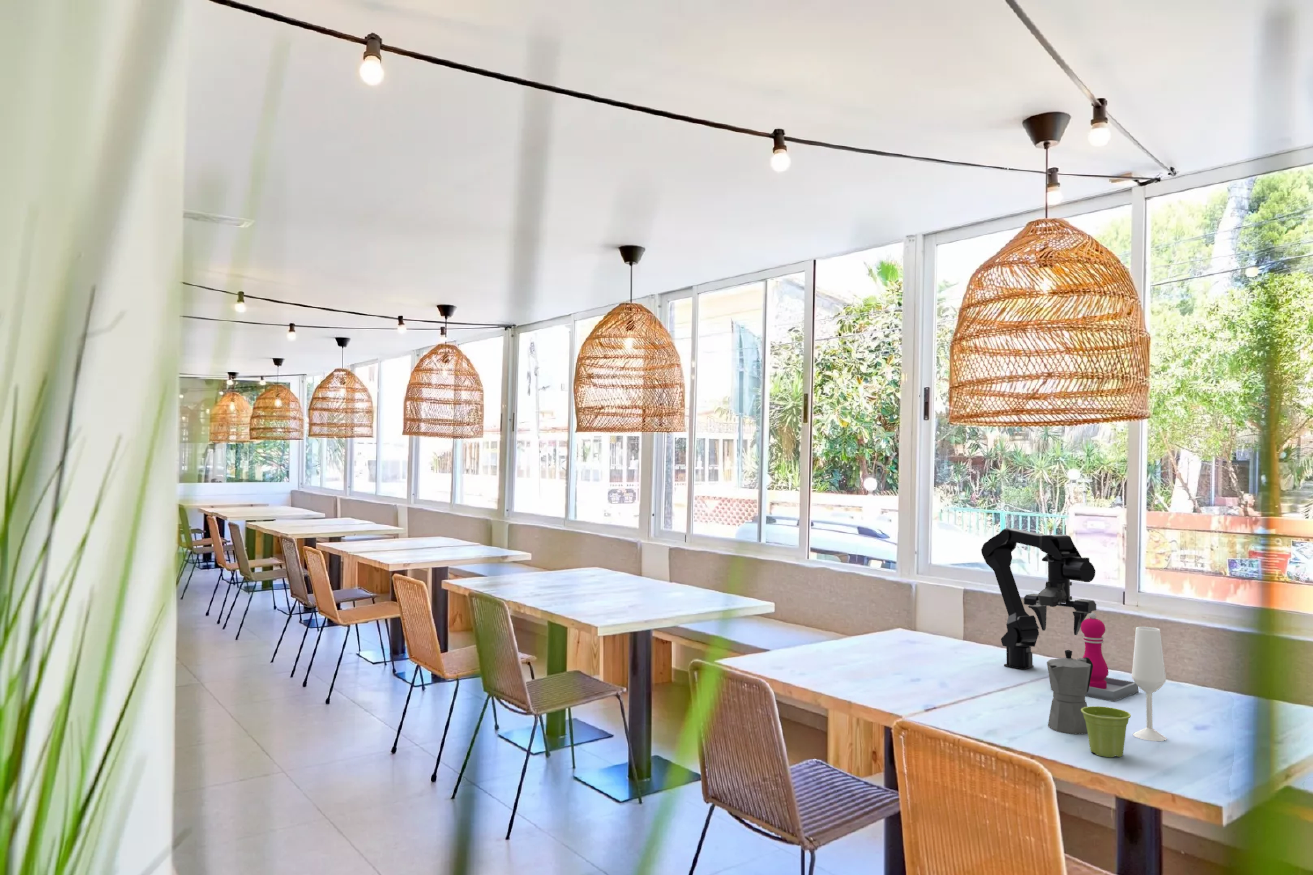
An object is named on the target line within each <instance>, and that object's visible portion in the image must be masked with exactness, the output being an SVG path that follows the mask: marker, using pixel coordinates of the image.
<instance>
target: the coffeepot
mask: <svg viewBox="0 0 1313 875" xmlns="http://www.w3.org/2000/svg"><path fill="white" fill-rule="evenodd" d="M1064 654H1065V657H1060V658H1059V657H1058V658H1051V659H1049V660H1048V661H1046V666H1047V673H1048V678H1049V684H1050V691H1051V692H1053V698H1052V699H1051V704H1050V710H1049V717H1048V722H1047V727H1048V728H1050V730H1053V731H1055V732H1059V733H1062V734H1067V735H1068V734H1069V735H1088V732H1087V727H1086V721H1085V719H1084V715H1083V713H1082V712H1081V709H1082V708H1084V707H1088V704H1087V702H1086V696H1085V694H1086V693H1087V692H1088V690H1089V685H1090V680H1091V675H1092V670H1093V663H1092V662H1091V660H1090V659H1089V658H1088V657H1085V658H1083V657H1078V658H1072V656H1073V651H1072V650H1070V649H1065V650H1064Z"/></svg>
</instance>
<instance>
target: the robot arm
mask: <svg viewBox="0 0 1313 875" xmlns="http://www.w3.org/2000/svg"><path fill="white" fill-rule="evenodd" d="M1071 537H1072V536H1070V535H1068V534H1043V533H1042V534H1041V533H1037V532H1032V531H1027V530H1022V529H1020V528H1017V527H1011V528H1009V527H1008V528H1004V529H1002V530H1001V531H1000V532H999V533H997V534H995V535H994V536H992V537H991V538H989V539H988V540H987V541H985V542H984V543H983V545H982V547H981V549H980V551H981V555H982V558H983V560H984V562H985V564H987V566H988V567H990V569H991V570H993V572H994V574H995V579H996V581H997V585H998V587H999V591H1000V594H1001V597H1002V600H1003V602H1004V605H1005V609H1006V612H1007V614H1008V615H1007V620H1006V624H1005V625H1006V629H1007V630H1006V632H1005V634H1003V636H1002V637H1001V638H1000V641H1001V645H1002V647H1006V648H1005V649H1006V650H1005V651H1006V652H1005V653H1006V663H1004V664H1003V666H1004V667H1007V666H1008V667H1007V668H1012V669H1013V668H1014V669H1018V668H1021V669H1020V670H1027V669H1026V668H1028V669H1030V668H1034V666H1035V665H1034V664H1033V663H1034V662H1033V652H1032V647H1034V648H1035V647H1036V644H1037V640H1038V637H1039V635H1040V632H1039V629H1040V628H1041V630H1042V631H1043V632H1044V631H1046V628H1047V608H1048V607H1051V608H1055V607H1057V606H1059V607H1067V608H1073V611H1072V615H1073V621H1074V622H1073V635H1074V636H1077V635H1078V633H1080V632H1079V631H1081V623H1082V622H1083V621H1084V620H1085V619H1087V616H1088V615H1089V614H1090V613H1093V612H1095V611H1097V603H1096V601H1095V600H1091V599H1085V598H1083V599H1082V598H1080V599H1075V600H1073V596H1072V595H1071V587H1072V586H1073V582H1072V581H1076V582H1081V583H1083V582H1084V583H1090V582H1092V581H1093V580H1094V578H1095V577H1096V569H1095V566H1094V565H1093V563H1092V562H1090V557H1082V555H1081V554H1080V551H1078V548H1077V546H1076V545H1075V543H1074V542H1073V540H1072V538H1071ZM1017 544H1020V545H1025V546H1030V547H1035V548H1037V549H1039V550H1040V551H1041V552H1042V553H1045V554H1046V555H1045V556H1043V557H1042V558H1041V561H1042V562H1047V581H1046V582H1045V586H1044V588H1043V589H1041V591H1039V592H1038V593H1030V594H1028V593H1027V594H1025V596H1024V597H1023V600H1022V598H1021V595H1020V593H1019V592H1020V591H1019V589H1018V586H1017V584H1016V580H1015V577H1014V574H1013V572H1012V568H1011V565H1012V560H1013V555H1012V552H1013V551H1014V550H1015V549H1016V547H1017ZM1022 601H1023V602H1022ZM1024 605H1026V606H1028V608H1029V609H1031V610H1032V611H1033V612H1034V613H1035V615H1036V617H1037V619H1038V623H1039V625H1040V627H1039V625H1038V623H1037V619H1036V617H1035V616H1034V615H1032V614H1031V615H1029V614H1028V613H1027V612H1026V610H1025V607H1024ZM1074 610H1075V611H1074Z"/></svg>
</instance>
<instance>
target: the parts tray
mask: <svg viewBox="0 0 1313 875" xmlns="http://www.w3.org/2000/svg"><path fill="white" fill-rule="evenodd" d="M1104 680H1105V681H1106V682H1107V688H1106V689H1100V688H1095V687H1089V690H1088V692H1087V693H1086V694H1085V697H1088V698H1094V699H1099V700H1103V701H1109V702H1116V701H1118V700H1121V699H1124V698H1127V697H1130V696H1131V695H1134V694H1137V693H1139V686H1138V685H1137V684H1136V683H1135V682H1134V681H1131V680H1125V679H1119V678H1114V677H1108V676H1107V677H1106V678H1105V679H1104Z"/></svg>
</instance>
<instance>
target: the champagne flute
mask: <svg viewBox="0 0 1313 875" xmlns="http://www.w3.org/2000/svg"><path fill="white" fill-rule="evenodd" d="M1134 634H1135V635H1134V646H1133V647H1134V648H1133V657H1132V669H1131V678H1132V680H1133V682H1135V683H1136V684H1137V685H1138V688H1139V689H1140V690H1142V691H1143V692H1144V693H1145V710H1146V711H1145V713H1146V714H1145V715H1146V720H1145V722H1146V727H1144V728H1142V729H1140V730H1137V731H1136V732H1134V733H1132V736H1133V737H1135V738H1138V739H1141V740H1144V741H1150V742H1164V740H1165V741H1167V739H1168V738H1167V737H1166V736H1164V735H1163V734H1162V733H1160V732H1159V731H1158V730H1155V729H1154V728H1153V693H1155V692H1157V691H1158V690H1159V689H1161V688H1162V687H1163V686H1164V685H1165V683H1166V681H1167V676H1166V668H1165V661H1164V658H1165V657H1164V651H1163V642H1162V635H1161V628H1157V627H1153V626H1151V627H1150V626H1137V627H1135V633H1134Z"/></svg>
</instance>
